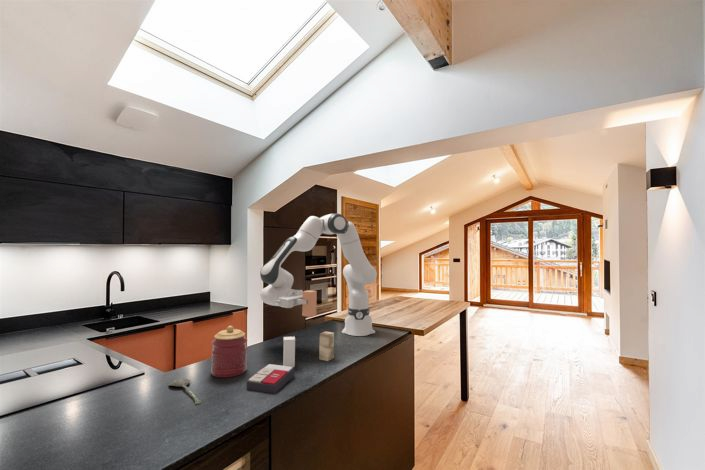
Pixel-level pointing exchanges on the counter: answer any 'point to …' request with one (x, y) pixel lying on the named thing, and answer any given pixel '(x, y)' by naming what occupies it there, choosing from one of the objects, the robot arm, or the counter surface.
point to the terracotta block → (309, 303)
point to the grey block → (289, 351)
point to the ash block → (326, 346)
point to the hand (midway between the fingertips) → (311, 301)
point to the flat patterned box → (270, 378)
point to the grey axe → (183, 384)
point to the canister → (229, 353)
